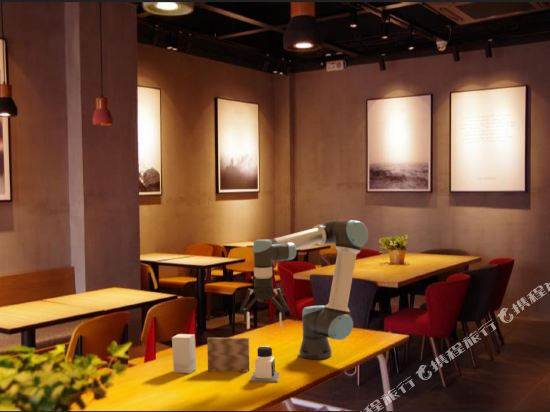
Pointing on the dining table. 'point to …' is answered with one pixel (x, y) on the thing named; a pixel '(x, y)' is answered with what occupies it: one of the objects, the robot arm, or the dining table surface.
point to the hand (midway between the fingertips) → (264, 328)
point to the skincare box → (184, 353)
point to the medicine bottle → (265, 363)
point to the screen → (228, 354)
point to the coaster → (274, 379)
